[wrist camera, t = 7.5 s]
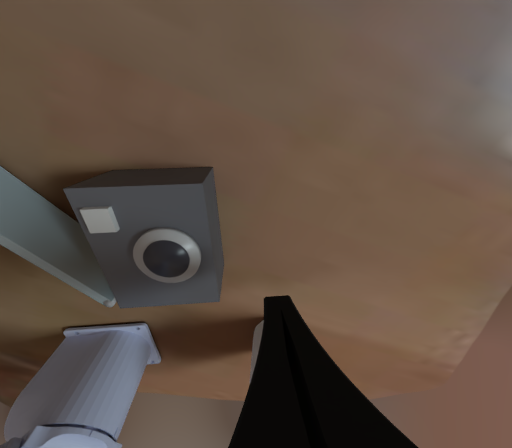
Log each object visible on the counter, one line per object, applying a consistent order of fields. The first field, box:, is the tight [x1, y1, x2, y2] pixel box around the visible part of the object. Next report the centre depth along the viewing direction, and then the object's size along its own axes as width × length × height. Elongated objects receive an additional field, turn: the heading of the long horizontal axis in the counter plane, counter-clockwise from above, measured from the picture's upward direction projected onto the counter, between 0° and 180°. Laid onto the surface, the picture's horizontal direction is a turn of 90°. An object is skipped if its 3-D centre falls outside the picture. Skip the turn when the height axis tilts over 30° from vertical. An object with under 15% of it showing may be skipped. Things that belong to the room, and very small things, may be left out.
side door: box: [0, 166, 116, 307], centre depth 15 cm, size 1×15×4 cm, turn 36°
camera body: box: [63, 167, 224, 308], centre depth 16 cm, size 8×10×6 cm
